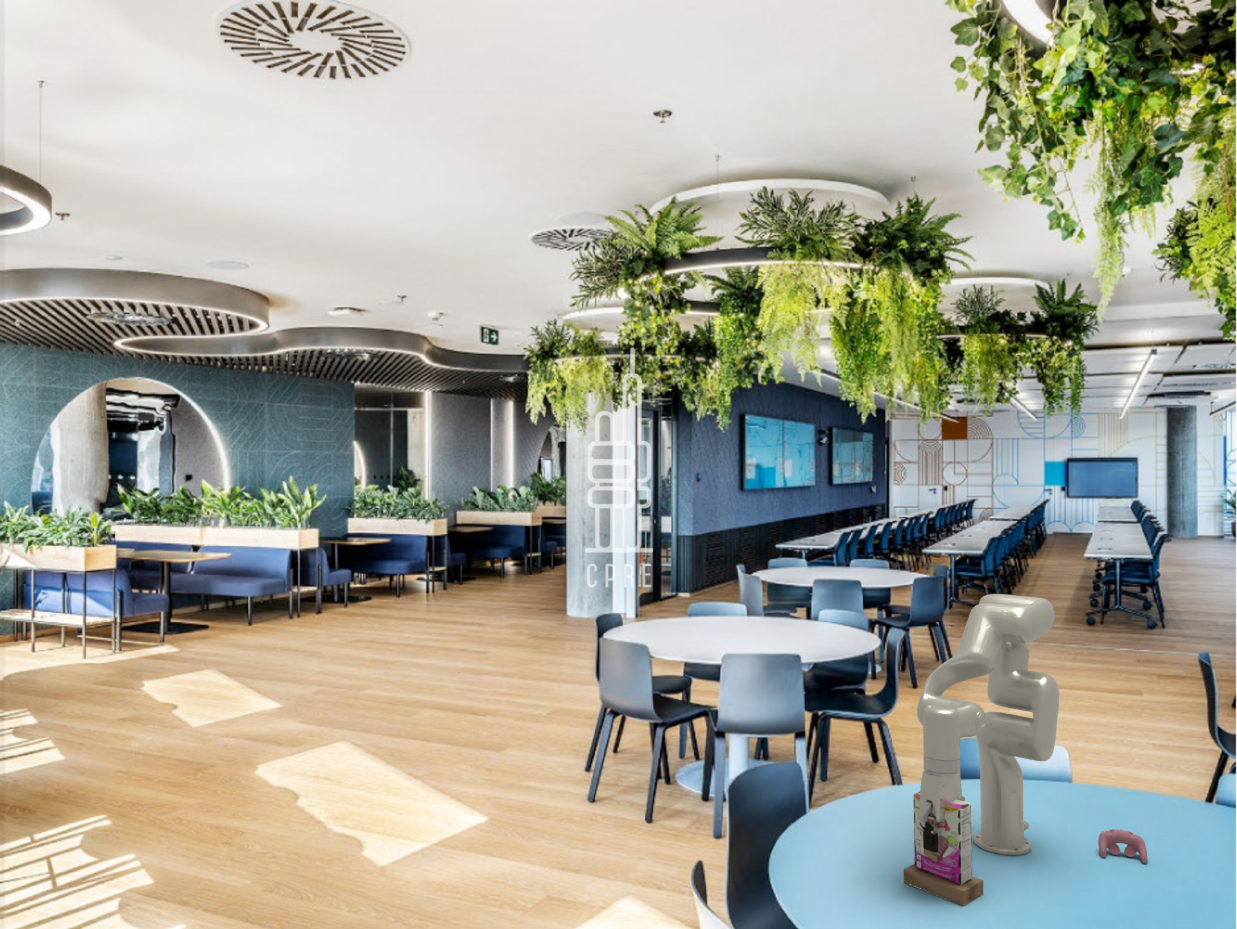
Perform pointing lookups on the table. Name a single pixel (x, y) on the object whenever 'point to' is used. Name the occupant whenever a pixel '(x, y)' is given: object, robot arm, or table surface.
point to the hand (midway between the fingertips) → (942, 844)
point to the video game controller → (1121, 836)
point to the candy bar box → (946, 843)
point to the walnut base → (944, 886)
